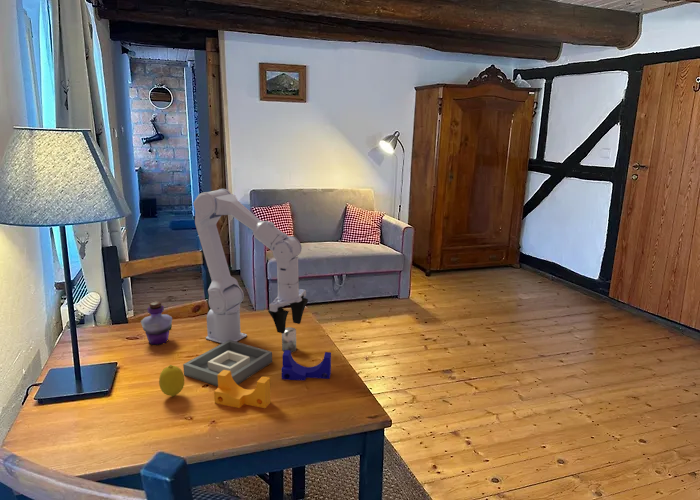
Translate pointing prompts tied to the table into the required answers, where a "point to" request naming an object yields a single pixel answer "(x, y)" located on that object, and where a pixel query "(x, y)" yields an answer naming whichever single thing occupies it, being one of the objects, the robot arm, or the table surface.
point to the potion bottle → (157, 324)
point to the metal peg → (289, 339)
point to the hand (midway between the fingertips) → (289, 327)
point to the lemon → (171, 380)
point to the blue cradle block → (305, 368)
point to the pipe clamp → (241, 392)
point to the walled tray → (228, 362)
